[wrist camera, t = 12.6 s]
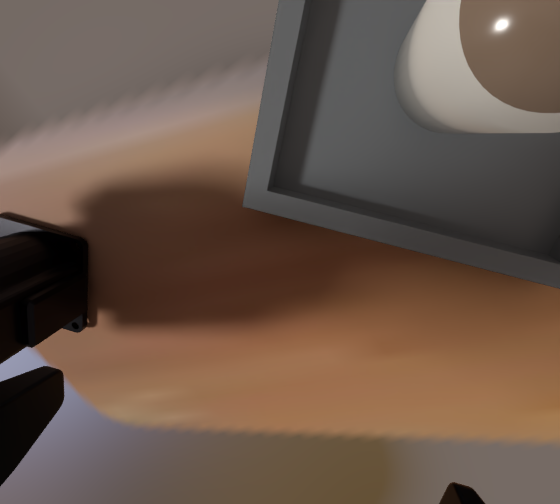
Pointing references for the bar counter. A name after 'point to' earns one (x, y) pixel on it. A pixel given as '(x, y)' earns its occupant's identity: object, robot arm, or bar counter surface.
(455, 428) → the bar counter surface
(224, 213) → the bar counter surface
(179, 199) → the bar counter surface
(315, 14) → the tray
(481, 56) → the ceramic cup
